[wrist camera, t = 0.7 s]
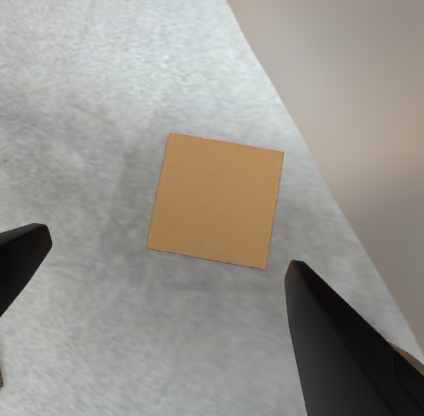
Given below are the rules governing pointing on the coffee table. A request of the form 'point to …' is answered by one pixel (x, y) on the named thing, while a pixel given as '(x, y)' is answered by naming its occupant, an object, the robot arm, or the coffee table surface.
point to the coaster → (216, 201)
